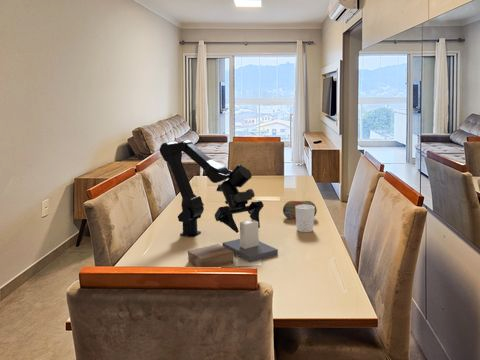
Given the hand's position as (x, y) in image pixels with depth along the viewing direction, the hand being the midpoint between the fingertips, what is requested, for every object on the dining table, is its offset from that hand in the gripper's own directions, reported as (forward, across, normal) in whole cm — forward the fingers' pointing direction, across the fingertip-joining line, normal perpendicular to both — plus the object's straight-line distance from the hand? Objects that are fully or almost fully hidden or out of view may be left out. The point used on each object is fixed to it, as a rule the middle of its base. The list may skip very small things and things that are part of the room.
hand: (248, 230), depth 164 cm
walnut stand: (+7, -17, +4) cm, 19 cm away
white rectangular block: (+4, 0, +4) cm, 6 cm away
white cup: (0, +33, +11) cm, 35 cm away
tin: (-10, +43, +22) cm, 49 cm away
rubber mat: (+6, 0, +5) cm, 8 cm away
